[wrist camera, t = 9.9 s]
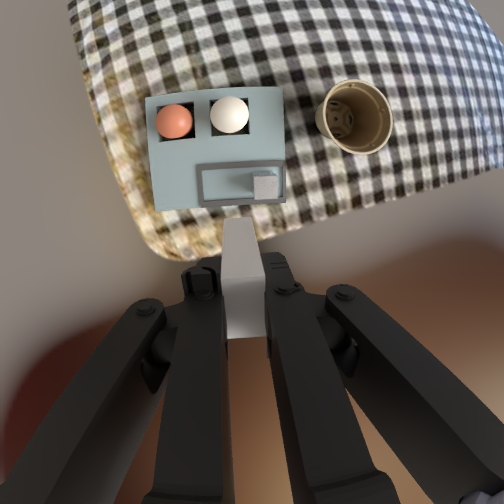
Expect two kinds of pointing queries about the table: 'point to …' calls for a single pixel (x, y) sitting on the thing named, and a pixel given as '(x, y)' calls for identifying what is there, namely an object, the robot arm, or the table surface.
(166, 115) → the salmon orange egg
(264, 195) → the grey stone cube
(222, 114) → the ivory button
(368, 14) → the table surface
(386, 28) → the table surface
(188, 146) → the panel
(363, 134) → the flower pot
